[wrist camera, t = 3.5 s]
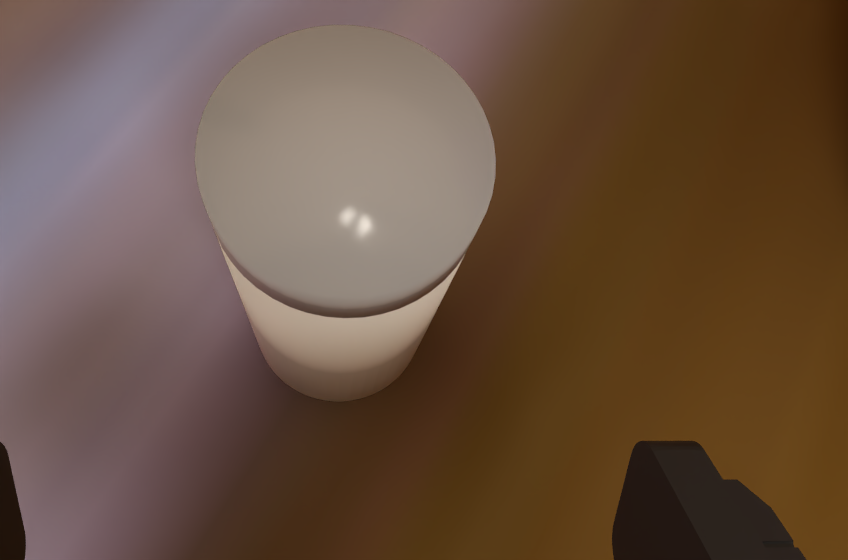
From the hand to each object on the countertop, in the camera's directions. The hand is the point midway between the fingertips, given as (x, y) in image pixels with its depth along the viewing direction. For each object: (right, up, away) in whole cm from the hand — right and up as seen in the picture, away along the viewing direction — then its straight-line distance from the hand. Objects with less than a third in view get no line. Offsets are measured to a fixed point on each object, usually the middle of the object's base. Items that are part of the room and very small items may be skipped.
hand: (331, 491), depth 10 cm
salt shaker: (-1, +2, +11) cm, 11 cm away
